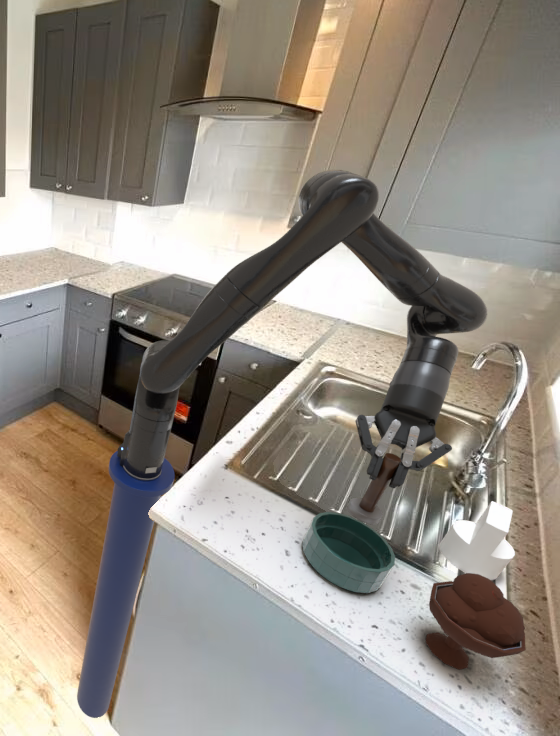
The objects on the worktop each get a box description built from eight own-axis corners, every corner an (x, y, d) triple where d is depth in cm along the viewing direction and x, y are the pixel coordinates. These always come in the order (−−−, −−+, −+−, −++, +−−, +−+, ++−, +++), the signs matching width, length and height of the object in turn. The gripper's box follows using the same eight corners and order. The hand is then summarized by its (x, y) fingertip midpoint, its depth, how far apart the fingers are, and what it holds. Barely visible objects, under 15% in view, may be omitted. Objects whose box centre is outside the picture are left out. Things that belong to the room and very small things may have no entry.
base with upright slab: (443, 533, 91) (471, 491, 85) (500, 563, 85) (535, 519, 79) (434, 556, 85) (464, 512, 80) (494, 589, 79) (531, 544, 74)
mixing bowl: (294, 565, 81) (306, 541, 78) (308, 524, 91) (318, 501, 88) (377, 610, 74) (393, 586, 71) (382, 560, 84) (396, 537, 81)
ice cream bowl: (401, 650, 68) (445, 589, 62) (411, 604, 76) (452, 545, 69) (490, 707, 62) (550, 646, 55) (491, 651, 69) (545, 591, 62)
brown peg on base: (345, 514, 77) (374, 457, 71) (348, 498, 80) (376, 443, 74) (378, 529, 74) (411, 472, 68) (380, 512, 77) (412, 456, 72)
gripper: (373, 371, 75) (338, 459, 72) (477, 401, 68) (443, 501, 65) (364, 385, 82) (332, 467, 78) (459, 415, 74) (427, 506, 71)
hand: (382, 482), depth 71 cm, fingers closed on brown peg on base
